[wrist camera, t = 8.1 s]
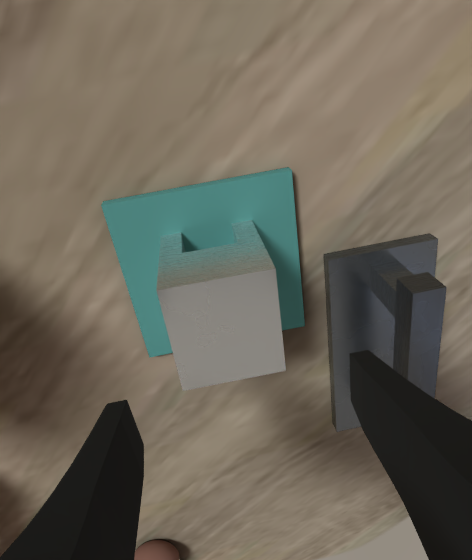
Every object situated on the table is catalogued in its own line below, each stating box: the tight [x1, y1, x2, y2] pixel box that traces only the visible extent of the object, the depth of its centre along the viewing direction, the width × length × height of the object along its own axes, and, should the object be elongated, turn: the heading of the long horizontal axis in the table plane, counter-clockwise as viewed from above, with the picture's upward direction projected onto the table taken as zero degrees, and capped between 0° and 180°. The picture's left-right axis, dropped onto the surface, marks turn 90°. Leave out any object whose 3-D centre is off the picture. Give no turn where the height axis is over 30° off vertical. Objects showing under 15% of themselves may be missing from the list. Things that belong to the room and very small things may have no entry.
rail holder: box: [324, 234, 446, 432], centre depth 23 cm, size 13×6×5 cm, turn 9°
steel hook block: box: [156, 220, 286, 391], centre depth 19 cm, size 5×4×6 cm
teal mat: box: [101, 167, 305, 357], centre depth 22 cm, size 9×9×1 cm
